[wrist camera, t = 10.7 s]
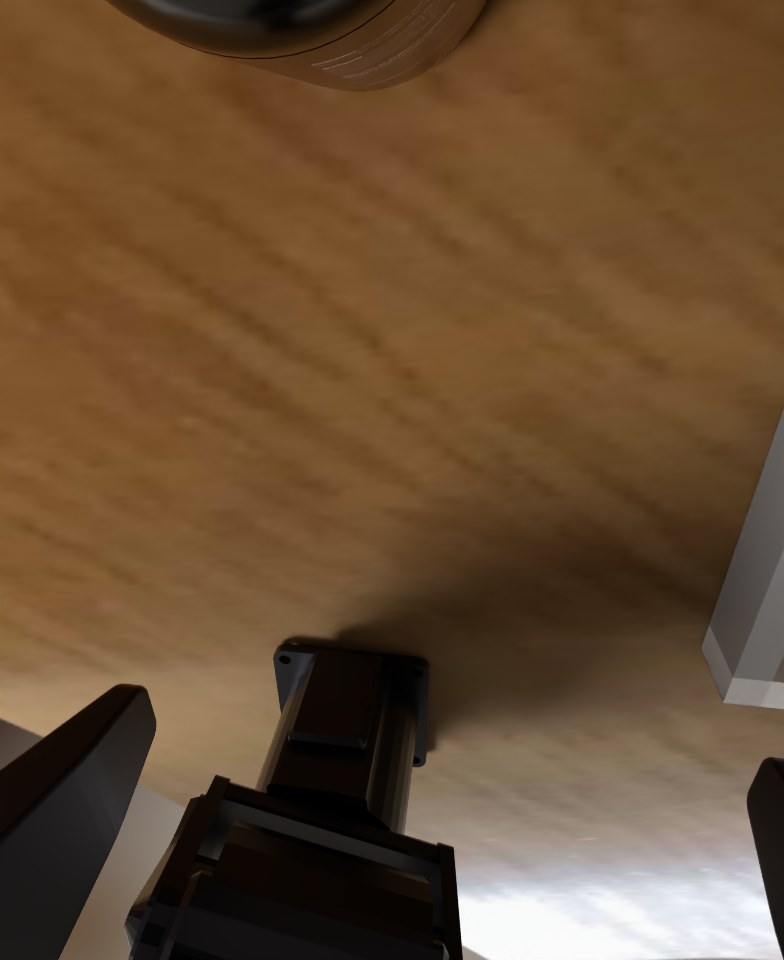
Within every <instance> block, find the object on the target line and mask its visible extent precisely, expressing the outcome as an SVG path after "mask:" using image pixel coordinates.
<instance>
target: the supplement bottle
mask: <svg viewBox="0 0 784 960" xmlns="http://www.w3.org/2000/svg"><path fill="white" fill-rule="evenodd" d="M105 1H107V2H108V3H109V4H111V5H112V6H113V7H115V8H116V9H117V10H119V11H120V12H121V13H123V14H124V15H126V16H128V17H129V18H131V19H133V20H134V21H136V22H138V23H139V24H141V25H143V26H144V27H146V28H148V29H150V30H152V31H154V32H156V33H158V34H160V35H163V36H165V37H167V38H169V39H171V40H173V41H175V42H177V43H180V44H182V45H185V46H188V47H190V48H193V49H196V50H199V51H202V52H205V53H208V54H211V55H215V56H218V57H221V58H225V59H228V60H232V61H235V62H239V63H242V64H246V65H249V66H252V67H256V68H259V69H263V70H266V71H270V72H273V73H277V74H280V75H284V76H287V77H291V78H294V79H298V80H301V81H304V82H308V83H311V84H315V85H318V86H323V87H328V88H332V89H338V90H344V91H373V90H380V89H385V88H389V87H392V86H396V85H399V84H401V83H404V82H406V81H409V80H411V79H413V78H415V77H417V76H419V75H420V74H422V73H424V72H425V71H427V70H428V69H430V68H431V67H433V66H434V65H435V64H437V63H438V62H439V61H440V60H441V59H443V58H444V57H445V56H446V55H447V54H448V53H449V52H450V51H451V50H452V49H453V48H454V47H455V46H456V45H457V44H458V43H459V42H460V40H461V39H462V38H463V37H464V36H465V34H466V33H467V32H468V31H469V29H470V28H471V26H472V25H473V23H474V22H475V21H476V19H477V17H478V16H479V14H480V12H481V11H482V9H483V7H484V5H485V4H486V2H487V0H105Z"/></svg>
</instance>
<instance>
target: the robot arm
mask: <svg viewBox="0 0 784 960" xmlns="http://www.w3.org/2000/svg"><path fill="white" fill-rule="evenodd" d="M284 655H285V656H284ZM286 656H288V657H286ZM273 660H274V667H275V674H276V681H277V688H278V695H279V702H280V709H281V717H280V720H279V723H278V726H277V729H276V731H275V734H274V737H273V740H272V743H271V745H270V748H269V751H268V754H267V757H266V759H265V762H264V765H263V768H262V771H261V773H260V776H259V779H258V782H257V785H256V788H255V789H252V788H248V787H245V786H242V785H239V784H235V783H232V782H230V780H231V779H229V778H226V777H222V776H219V775H215V777H214V779H213V781H212V784H211V786H210V788H209V790H208V792H207V793H206V795H203V794H201V795H200V797H196V798H192V799H190V802H189V804H188V806H187V808H186V810H185V813H184V815H183V817H182V819H181V822H180V824H179V826H178V828H177V830H176V833H175V835H174V837H173V839H172V841H171V843H170V845H169V847H168V848H167V850H166V852H165V854H164V856H163V857H162V859H161V860H160V862H159V863H158V865H157V867H156V868H155V870H154V871H153V873H152V875H151V876H150V878H149V880H148V881H147V883H146V884H145V886H144V888H143V889H142V891H141V892H140V894H139V895H138V897H137V899H136V900H135V902H134V904H133V905H132V907H131V909H130V912H129V914H128V916H127V919H126V922H125V925H124V930H125V933H126V936H127V939H128V943H129V946H130V950H131V952H130V956H129V960H463V956H462V943H461V931H460V919H459V906H458V894H457V882H456V870H455V858H454V848H453V847H452V846H449V845H445V844H442V843H439V842H438V843H437V845H435V844H432V843H429V842H426V841H422V840H419V839H416V838H413V837H409V836H406V835H404V831H405V822H406V814H407V806H408V798H409V790H410V781H411V773H412V767H421V766H423V765H424V764H425V762H426V755H427V731H428V705H429V679H430V666H429V663H428V662H427V661H426V660H424V659H422V658H418V657H409V656H399V655H389V654H379V653H370V652H360V651H350V650H340V649H330V648H321V647H311V646H301V645H291V644H282V645H279V646H278V647H277V649H276V651H275V654H274V658H273ZM414 669H418V670H420V671H417V670H414ZM155 732H156V718H155V715H154V711H153V708H152V705H151V701H150V698H149V694H148V691H147V689H146V688H145V687H144V686H141V685H132V684H118V685H116V686H114V687H112V688H111V689H110V690H108V691H107V692H106V693H104V694H103V695H101V696H100V697H99V698H97V699H96V700H95V701H93V702H92V703H91V704H89V705H88V706H86V707H85V708H84V709H82V710H81V711H80V712H78V713H77V714H76V715H74V716H73V717H71V718H70V719H69V720H67V721H66V722H65V723H63V724H62V725H61V726H59V727H58V728H57V729H55V730H54V731H52V732H51V733H50V734H48V735H47V736H46V737H44V738H43V739H42V740H40V741H39V742H37V743H36V744H35V745H33V746H32V747H31V748H29V749H28V750H27V751H25V752H24V753H23V754H21V755H20V756H18V757H17V758H16V759H14V760H13V761H12V762H10V763H9V764H8V765H6V766H5V767H3V768H2V769H1V770H0V960H58V959H59V957H60V955H61V953H62V951H63V949H64V946H65V945H66V942H67V940H68V938H69V936H70V934H71V932H72V930H73V928H74V926H75V924H76V922H77V919H78V917H79V915H80V913H81V911H82V909H83V907H84V905H85V903H86V901H87V898H88V897H89V894H90V893H91V890H92V888H93V886H94V884H95V882H96V880H97V878H98V876H99V874H100V872H101V870H102V867H103V866H104V863H105V861H106V859H107V857H108V855H109V853H110V851H111V849H112V846H113V844H114V842H115V840H116V838H117V835H118V833H119V830H120V828H121V825H122V823H123V820H124V818H125V815H126V812H127V809H128V806H129V804H130V801H131V798H132V796H133V793H134V790H135V787H136V785H137V782H138V780H139V777H140V774H141V771H142V769H143V766H144V763H145V760H146V758H147V755H148V752H149V750H150V747H151V744H152V741H153V739H154V736H155ZM747 809H748V815H749V819H750V824H751V828H752V833H753V837H754V842H755V846H756V851H757V855H758V860H759V864H760V869H761V873H762V878H763V882H764V887H765V891H766V896H767V900H768V905H769V909H770V914H771V918H772V922H773V926H774V930H775V934H776V937H777V940H778V944H779V947H780V950H781V953H782V957H783V960H784V759H782V758H774V757H768V758H766V759H765V760H763V762H762V763H761V765H760V767H759V770H758V772H757V774H756V776H755V778H754V780H753V782H752V784H751V786H750V789H749V791H748V794H747Z"/></svg>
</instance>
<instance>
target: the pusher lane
mask: <svg viewBox="0 0 784 960" xmlns="http://www.w3.org/2000/svg"><path fill="white" fill-rule="evenodd" d="M701 650H702V652H703V655H704V657H705V660H706V662H707V664H708V667H709V669H710V672H711V674H712V677H713V679H714V682H715V684H716V686H717V689H718V691H719V694H720V696H721V699H722V701H723V703H731V704H740V705H750V706H759V707H769V708H778V709H784V409H783V412H782V415H781V418H780V421H779V424H778V426H777V429H776V432H775V435H774V438H773V441H772V444H771V447H770V450H769V453H768V455H767V458H766V461H765V464H764V467H763V470H762V473H761V476H760V479H759V482H758V484H757V487H756V490H755V493H754V496H753V499H752V502H751V505H750V508H749V511H748V513H747V516H746V519H745V522H744V525H743V528H742V531H741V534H740V537H739V540H738V542H737V545H736V548H735V551H734V554H733V557H732V560H731V563H730V566H729V569H728V571H727V574H726V577H725V580H724V583H723V586H722V589H721V592H720V595H719V598H718V600H717V603H716V606H715V609H714V612H713V615H712V618H711V621H710V624H709V627H708V629H707V632H706V635H705V638H704V641H703V644H702V647H701Z"/></svg>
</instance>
